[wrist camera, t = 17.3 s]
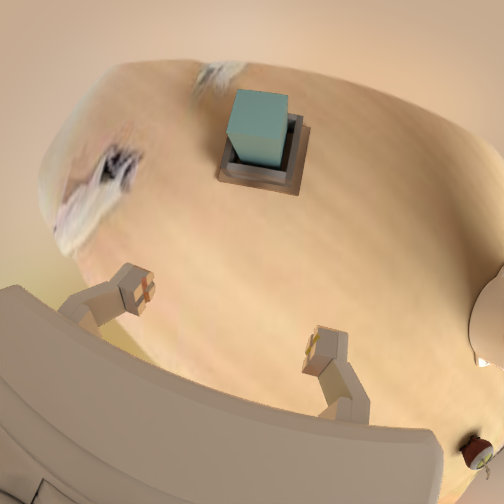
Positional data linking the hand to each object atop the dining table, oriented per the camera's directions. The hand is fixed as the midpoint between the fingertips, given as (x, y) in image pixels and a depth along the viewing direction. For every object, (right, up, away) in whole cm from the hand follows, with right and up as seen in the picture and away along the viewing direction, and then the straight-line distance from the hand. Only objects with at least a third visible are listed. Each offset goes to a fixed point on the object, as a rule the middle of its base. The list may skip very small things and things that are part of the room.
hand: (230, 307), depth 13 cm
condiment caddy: (+3, +16, +24) cm, 29 cm away
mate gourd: (+50, -41, +21) cm, 68 cm away
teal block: (+3, +16, +23) cm, 28 cm away
